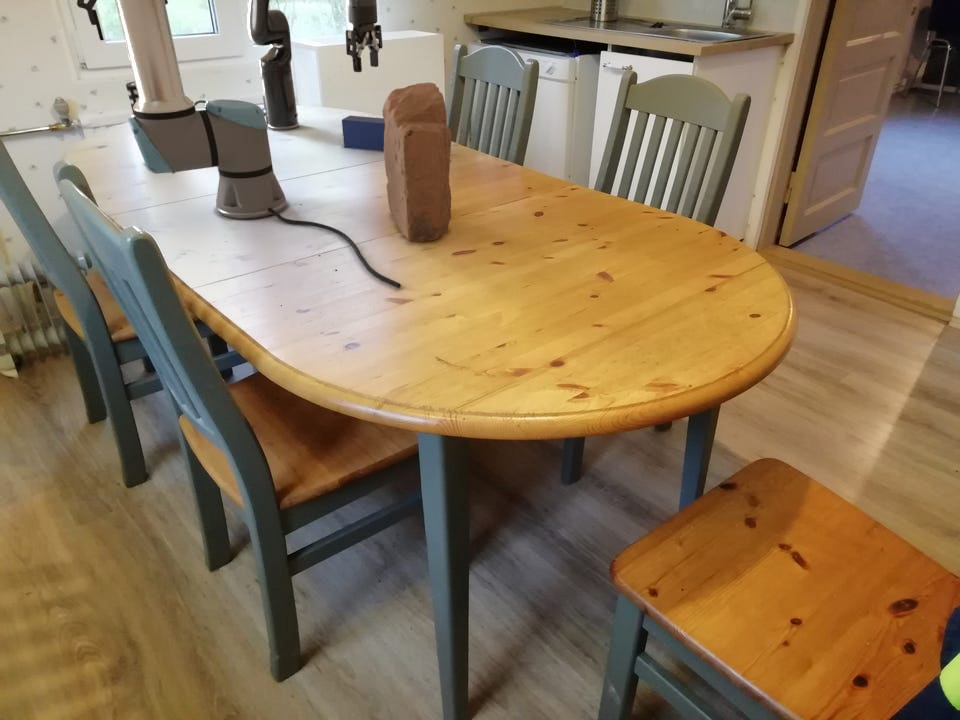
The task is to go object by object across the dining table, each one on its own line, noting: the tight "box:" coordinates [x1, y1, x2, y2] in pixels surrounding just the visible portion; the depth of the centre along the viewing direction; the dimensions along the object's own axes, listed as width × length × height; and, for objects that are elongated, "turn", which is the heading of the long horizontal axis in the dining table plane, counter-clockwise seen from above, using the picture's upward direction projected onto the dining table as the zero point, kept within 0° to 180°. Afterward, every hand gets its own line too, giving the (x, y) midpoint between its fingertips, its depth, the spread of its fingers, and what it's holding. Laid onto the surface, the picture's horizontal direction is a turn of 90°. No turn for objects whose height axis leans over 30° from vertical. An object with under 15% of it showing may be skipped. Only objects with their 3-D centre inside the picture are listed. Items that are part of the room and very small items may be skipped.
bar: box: [341, 115, 385, 152], centre depth 198 cm, size 25×5×8 cm, turn 74°
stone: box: [381, 82, 452, 243], centre depth 143 cm, size 22×11×28 cm, turn 18°
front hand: (131, 38), depth 172 cm, fingers open, 13 cm apart
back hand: (366, 69), depth 188 cm, fingers open, 8 cm apart
